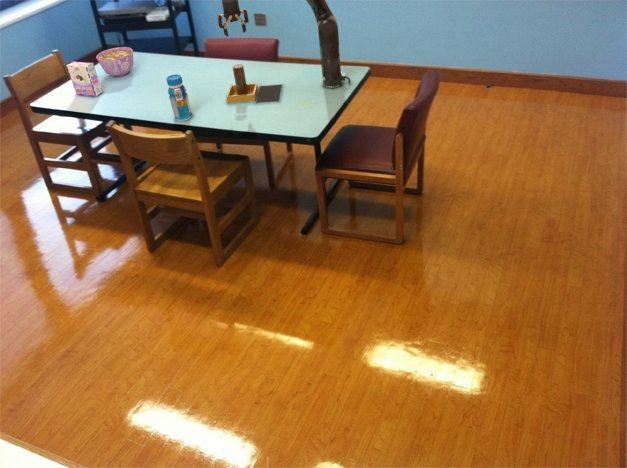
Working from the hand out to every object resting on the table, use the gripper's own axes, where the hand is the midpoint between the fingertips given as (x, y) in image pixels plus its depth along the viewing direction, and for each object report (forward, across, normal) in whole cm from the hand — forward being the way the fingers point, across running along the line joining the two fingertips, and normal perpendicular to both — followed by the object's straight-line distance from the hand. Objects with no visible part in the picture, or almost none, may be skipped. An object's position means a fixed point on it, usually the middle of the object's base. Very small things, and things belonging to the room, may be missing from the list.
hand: (235, 34), depth 286 cm
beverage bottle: (+28, -36, -16) cm, 48 cm away
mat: (+27, +8, -15) cm, 32 cm away
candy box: (+28, -73, +43) cm, 89 cm away
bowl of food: (+28, -54, +63) cm, 88 cm away
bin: (+27, -4, -10) cm, 29 cm away
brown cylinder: (+27, -4, -10) cm, 29 cm away
